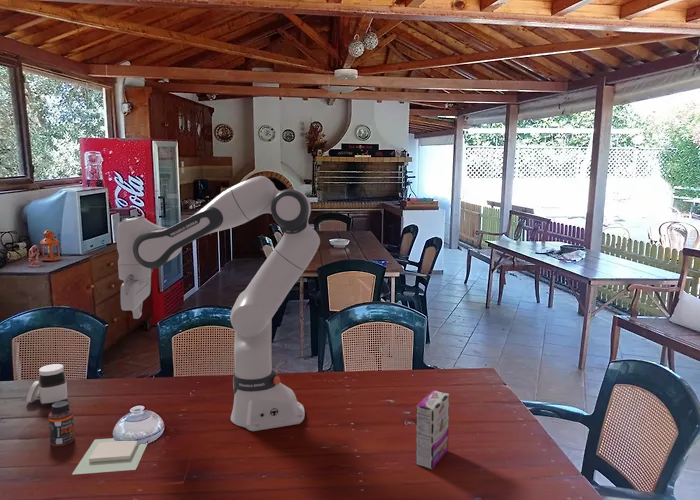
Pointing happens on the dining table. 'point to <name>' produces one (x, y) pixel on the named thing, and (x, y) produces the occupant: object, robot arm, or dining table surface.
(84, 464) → the mat
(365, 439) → the dining table surface
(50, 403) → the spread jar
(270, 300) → the robot arm
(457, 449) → the dining table surface
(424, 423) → the candy bar box
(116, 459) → the tile
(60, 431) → the supplement bottle
